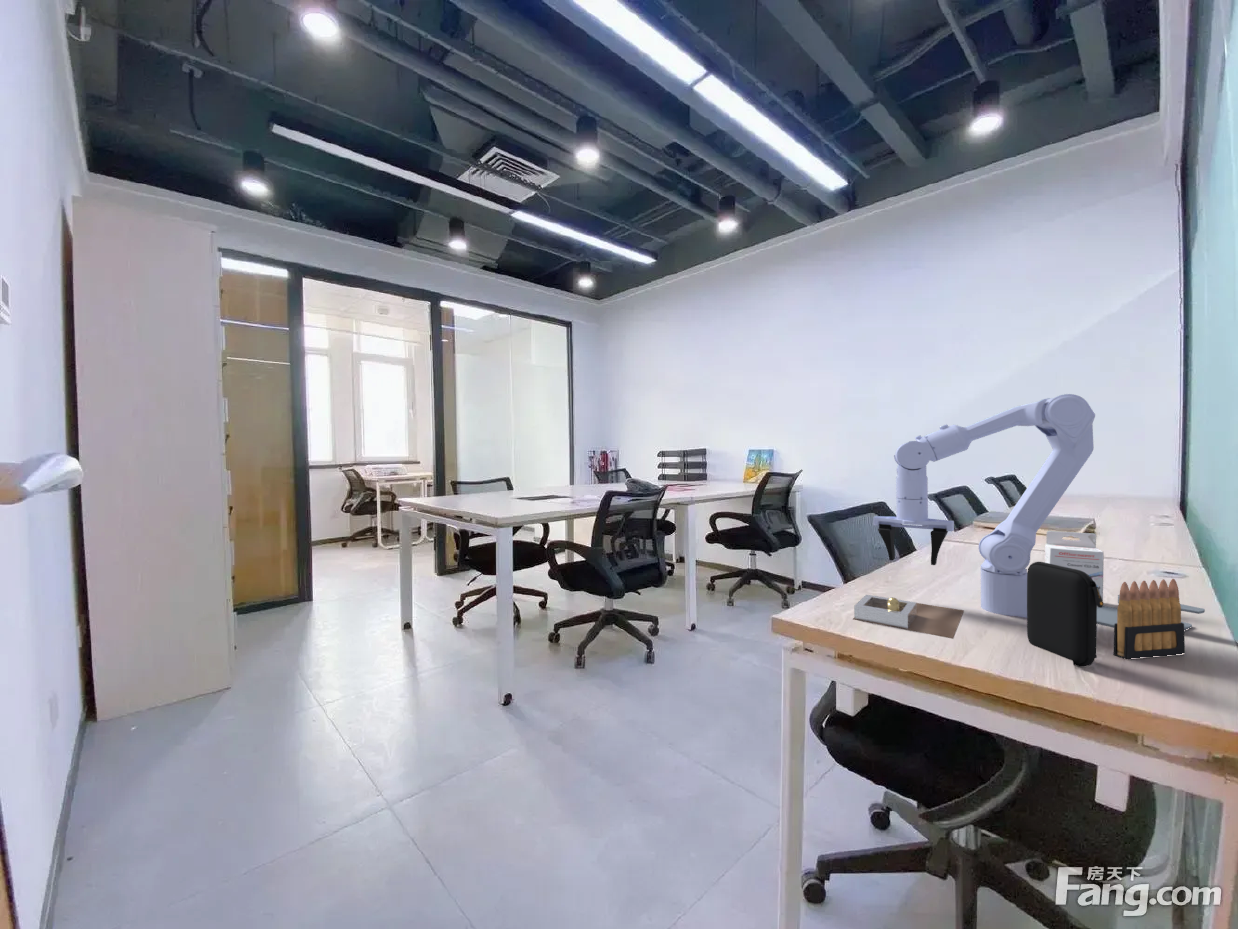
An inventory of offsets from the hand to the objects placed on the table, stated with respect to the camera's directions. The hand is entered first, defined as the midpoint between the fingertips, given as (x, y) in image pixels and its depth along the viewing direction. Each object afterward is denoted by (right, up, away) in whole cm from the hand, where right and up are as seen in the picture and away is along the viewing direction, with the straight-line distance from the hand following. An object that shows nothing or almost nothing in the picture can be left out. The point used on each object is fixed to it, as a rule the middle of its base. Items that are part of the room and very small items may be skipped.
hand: (912, 561), depth 103 cm
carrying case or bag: (+7, -10, -27) cm, 30 cm away
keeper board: (-6, -10, -8) cm, 14 cm away
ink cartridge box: (+34, -9, 0) cm, 35 cm away
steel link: (-11, -9, -9) cm, 16 cm away
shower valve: (+34, -10, -13) cm, 38 cm away
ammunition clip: (+22, -10, -26) cm, 35 cm away
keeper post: (-10, -9, -10) cm, 16 cm away
